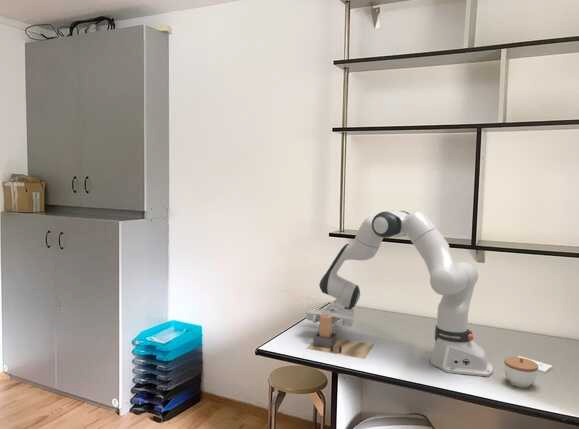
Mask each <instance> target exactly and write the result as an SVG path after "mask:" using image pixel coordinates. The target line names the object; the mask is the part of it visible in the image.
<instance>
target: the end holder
mask: <svg viewBox="0 0 579 429" xmlns="http://www.w3.org/2000/svg"><path fill="white" fill-rule="evenodd" d="M337 334H338V333H336V332H332V333H331V338H325V337H319V331H318V332H317V333H315V335H314V336H313V341H314V342H313V341H312V342H313V346H317V347H323V348H329V349H331V345H335V344H336V340H337V339H338V338H337V336H338V335H337Z"/></svg>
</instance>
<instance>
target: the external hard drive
mask: <svg viewBox="0 0 579 429" xmlns="http://www.w3.org/2000/svg"><path fill="white" fill-rule="evenodd" d="M518 357H520V358H525V359H529V360H531V361H533V362H535V363H537V365H538V372H539V373H541V374H547V373H548V372H549V371H551V370H553V368H554V366H553V365H551V364H548V363H544V362H540V361H537V360H535V359H530V358H527V357H525V356H524V357H523V356H521V355H519V356H518ZM538 372H537V373H538Z"/></svg>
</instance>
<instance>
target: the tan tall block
mask: <svg viewBox="0 0 579 429" xmlns="http://www.w3.org/2000/svg"><path fill="white" fill-rule="evenodd" d="M323 310H324V311H323V315H321V316H320V322H319V331H318V332H319V337H325V338H331V333H333V332H332V331H333V329H332V327H333V324H332V315H330V311H328V312H327V315H326V310H325V309H323Z"/></svg>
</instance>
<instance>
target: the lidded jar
mask: <svg viewBox="0 0 579 429" xmlns="http://www.w3.org/2000/svg"><path fill="white" fill-rule="evenodd" d="M525 358H526V357H524V358H520V357H519V356H509V357H506V358H504V361H503V362H504V368H503V369H504V374H505V376H506V378H507V380H508V381H509V383H510V384H511V385H512V386H515V387H518V388H521V389H522V388H525V389H526V388H529V387H530V386H531V385H533V384H534V382H535V381H536V380H537V376H538V365H537V363H535V362H533V361H531V360H532V359H531V360H529V359H530V358H528V359H525Z"/></svg>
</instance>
